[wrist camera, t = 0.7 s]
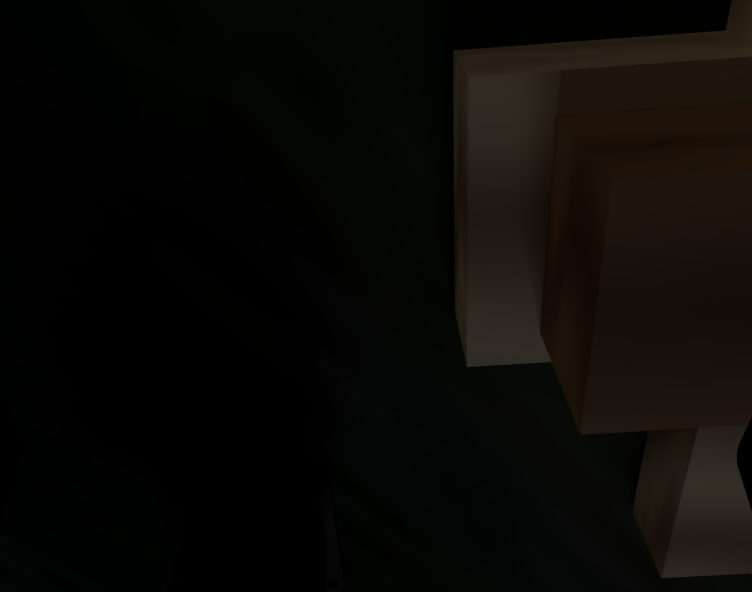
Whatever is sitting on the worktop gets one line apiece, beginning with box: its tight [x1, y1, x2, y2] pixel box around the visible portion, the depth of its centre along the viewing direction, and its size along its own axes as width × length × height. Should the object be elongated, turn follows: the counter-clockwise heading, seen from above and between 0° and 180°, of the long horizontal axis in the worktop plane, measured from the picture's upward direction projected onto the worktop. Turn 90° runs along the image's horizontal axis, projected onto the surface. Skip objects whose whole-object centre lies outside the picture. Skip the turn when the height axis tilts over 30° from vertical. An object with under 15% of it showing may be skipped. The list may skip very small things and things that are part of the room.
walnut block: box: [540, 102, 752, 435], centre depth 15 cm, size 6×6×4 cm
